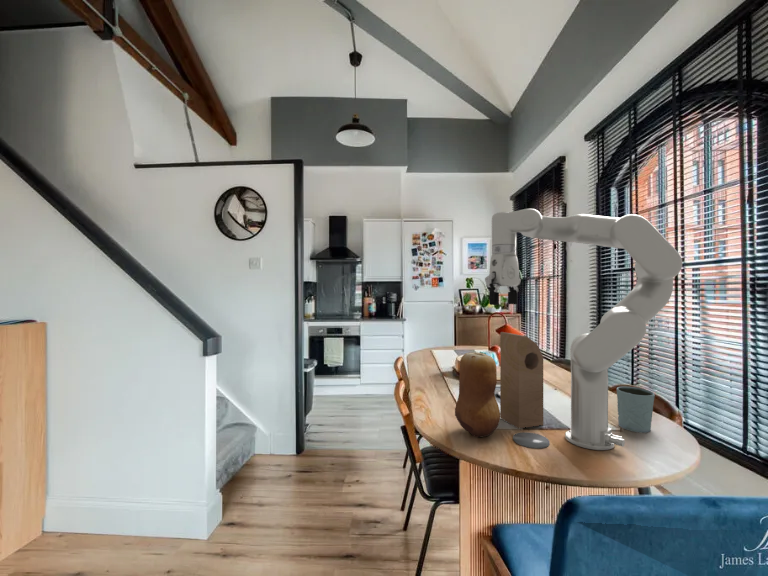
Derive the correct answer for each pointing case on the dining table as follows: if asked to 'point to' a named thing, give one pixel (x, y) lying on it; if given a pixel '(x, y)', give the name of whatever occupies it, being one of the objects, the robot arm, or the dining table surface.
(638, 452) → the dining table surface
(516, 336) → the decorative block
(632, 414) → the grey-green cup
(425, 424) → the dining table surface
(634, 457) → the dining table surface
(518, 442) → the grey dome
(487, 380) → the butternut squash
